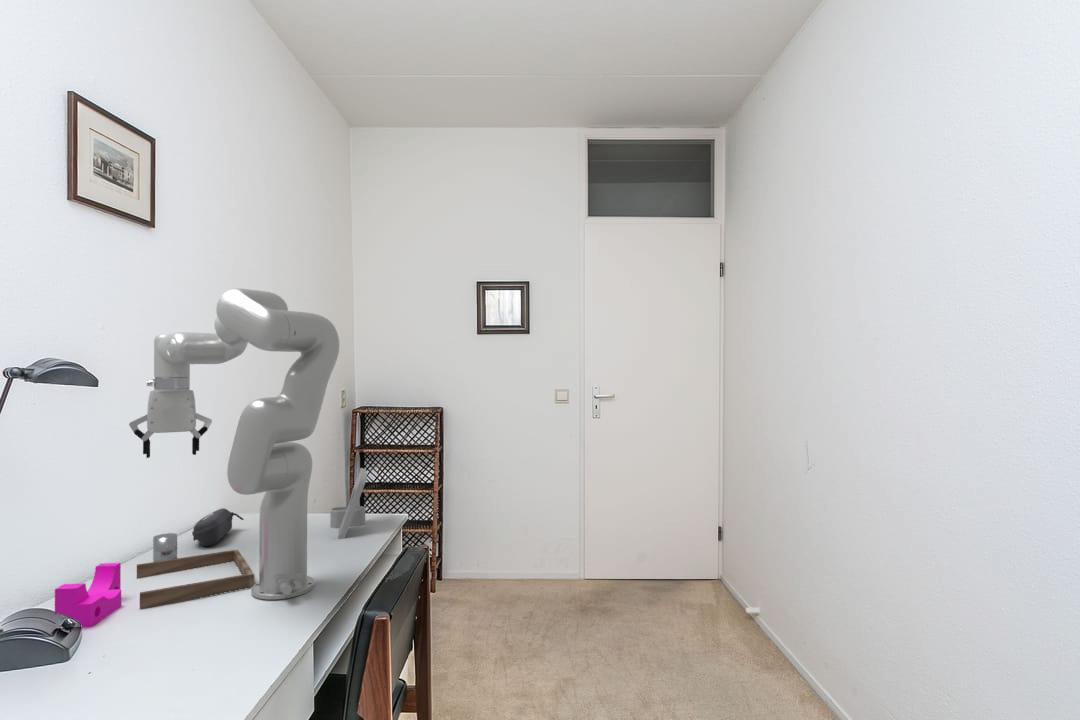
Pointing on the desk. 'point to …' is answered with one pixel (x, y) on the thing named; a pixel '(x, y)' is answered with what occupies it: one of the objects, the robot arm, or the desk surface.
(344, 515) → the phone holder
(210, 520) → the glasses case
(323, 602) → the desk surface
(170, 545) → the metal peg
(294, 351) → the robot arm
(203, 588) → the bay
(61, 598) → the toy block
